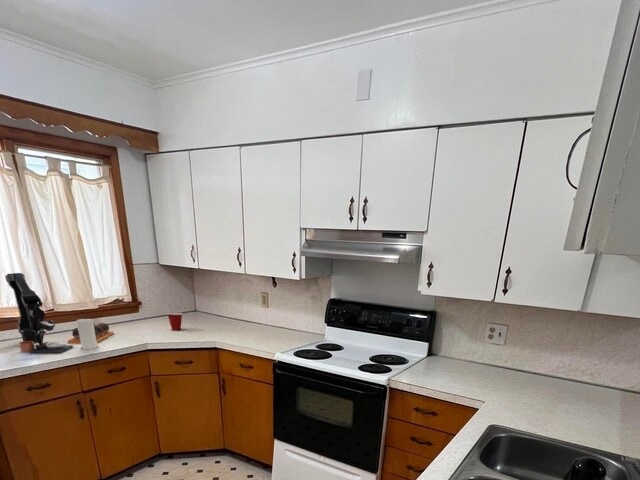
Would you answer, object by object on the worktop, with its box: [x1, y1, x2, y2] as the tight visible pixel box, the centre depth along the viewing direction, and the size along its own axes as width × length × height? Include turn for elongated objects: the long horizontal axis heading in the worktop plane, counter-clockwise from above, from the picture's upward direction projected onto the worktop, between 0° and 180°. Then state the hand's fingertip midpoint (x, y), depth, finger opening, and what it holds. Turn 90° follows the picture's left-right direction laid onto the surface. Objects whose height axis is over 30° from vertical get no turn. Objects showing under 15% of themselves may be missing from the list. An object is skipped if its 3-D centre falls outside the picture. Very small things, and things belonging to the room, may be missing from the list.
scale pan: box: [43, 341, 66, 347], centre depth 241 cm, size 14×11×1 cm
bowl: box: [18, 340, 36, 353], centre depth 238 cm, size 7×7×5 cm
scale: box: [29, 344, 74, 355], centre depth 241 cm, size 16×14×3 cm
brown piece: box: [67, 322, 115, 344], centre depth 270 cm, size 28×17×8 cm, turn 5°
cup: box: [76, 318, 98, 350], centre depth 247 cm, size 8×8×16 cm
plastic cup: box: [166, 311, 184, 332], centre depth 300 cm, size 11×11×12 cm
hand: (41, 344), depth 240 cm, fingers closed, pressing on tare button
